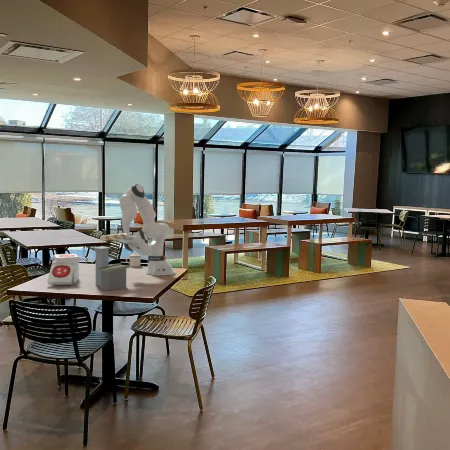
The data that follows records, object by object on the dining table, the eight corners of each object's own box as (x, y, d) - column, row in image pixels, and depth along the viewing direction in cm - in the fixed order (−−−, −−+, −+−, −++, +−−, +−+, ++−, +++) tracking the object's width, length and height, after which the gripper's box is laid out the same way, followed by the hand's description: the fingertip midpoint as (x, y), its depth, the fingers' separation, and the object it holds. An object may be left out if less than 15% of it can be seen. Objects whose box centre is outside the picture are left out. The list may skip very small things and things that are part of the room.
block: (125, 237, 349) (125, 233, 349) (128, 237, 347) (128, 233, 347) (100, 240, 331) (100, 235, 330) (103, 240, 329) (103, 236, 329)
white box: (44, 287, 332) (44, 260, 331) (55, 278, 362) (55, 253, 360) (73, 287, 334) (73, 260, 332) (82, 278, 364) (82, 253, 362)
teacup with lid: (141, 265, 423) (141, 251, 422) (139, 267, 414) (139, 253, 412) (126, 265, 422) (126, 251, 421) (125, 266, 413) (125, 252, 412)
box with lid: (119, 284, 345) (119, 263, 344) (129, 286, 340) (129, 264, 339) (97, 289, 328) (97, 267, 327) (107, 291, 323) (107, 269, 322)
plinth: (102, 283, 349) (102, 246, 346) (110, 284, 344) (110, 247, 342) (93, 285, 342) (93, 247, 340) (101, 286, 338) (101, 248, 335)
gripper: (125, 237, 362) (113, 229, 351) (146, 240, 350) (134, 232, 340) (122, 245, 360) (109, 237, 349) (143, 248, 348) (131, 240, 338)
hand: (122, 234), depth 344 cm, fingers closed on block, 3 cm apart
